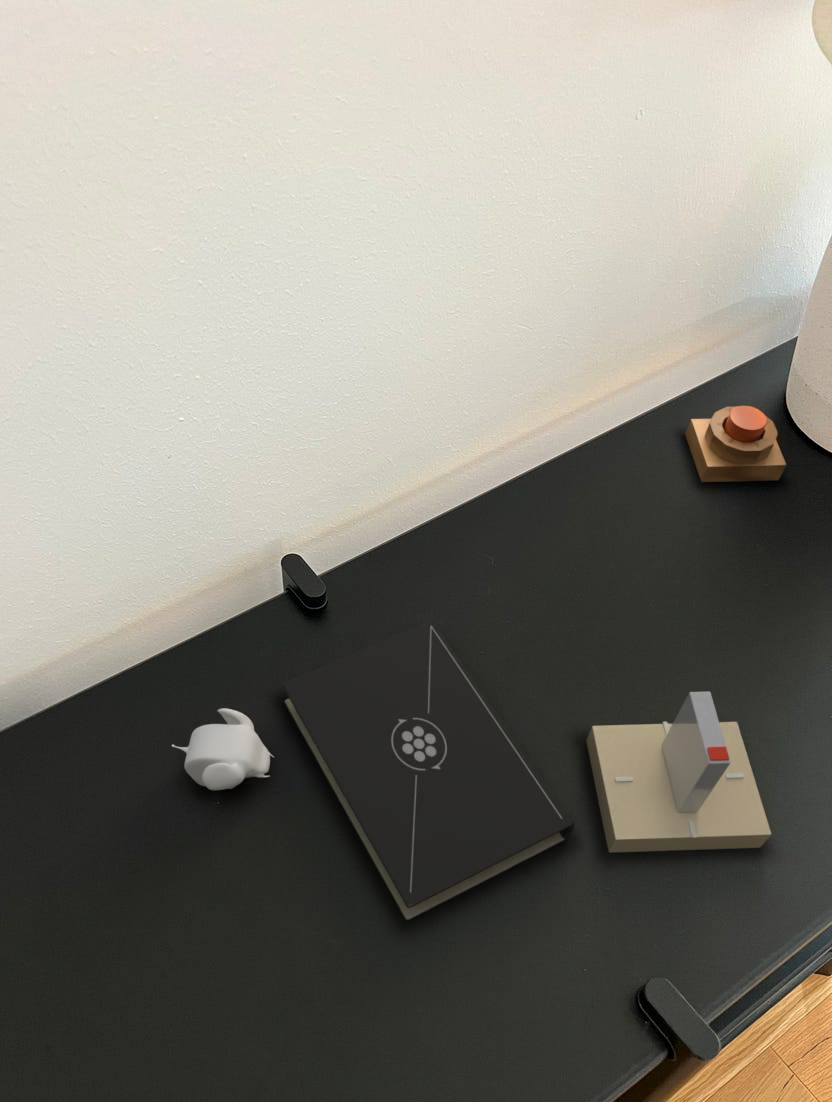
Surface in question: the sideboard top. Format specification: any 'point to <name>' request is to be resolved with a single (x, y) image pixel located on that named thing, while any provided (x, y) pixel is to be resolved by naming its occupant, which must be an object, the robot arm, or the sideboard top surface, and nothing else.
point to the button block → (733, 452)
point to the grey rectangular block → (695, 752)
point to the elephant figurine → (226, 752)
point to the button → (745, 424)
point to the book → (424, 768)
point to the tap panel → (670, 794)
